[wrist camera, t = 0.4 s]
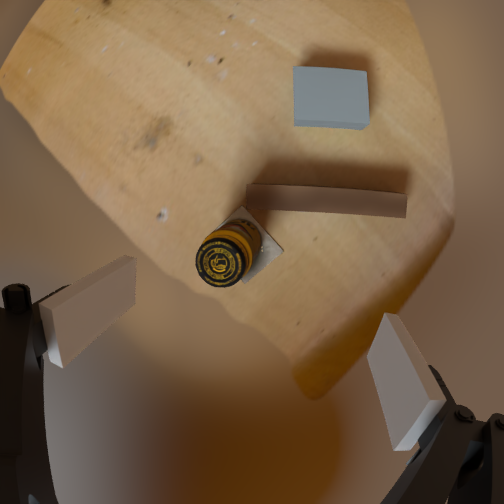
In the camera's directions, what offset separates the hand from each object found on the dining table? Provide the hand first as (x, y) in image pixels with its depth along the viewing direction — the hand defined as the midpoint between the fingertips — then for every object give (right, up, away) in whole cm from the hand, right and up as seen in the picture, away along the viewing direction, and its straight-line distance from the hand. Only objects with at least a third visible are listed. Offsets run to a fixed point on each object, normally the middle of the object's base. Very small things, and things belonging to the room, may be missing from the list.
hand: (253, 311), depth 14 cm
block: (+10, +23, +20) cm, 32 cm away
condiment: (-1, +4, +27) cm, 27 cm away
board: (+10, +10, +23) cm, 27 cm away
